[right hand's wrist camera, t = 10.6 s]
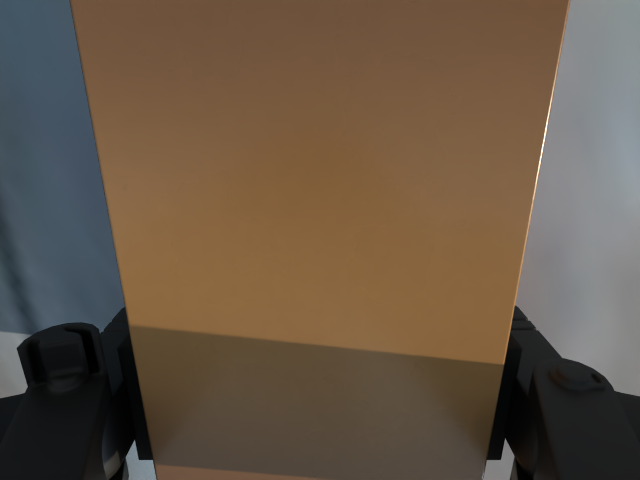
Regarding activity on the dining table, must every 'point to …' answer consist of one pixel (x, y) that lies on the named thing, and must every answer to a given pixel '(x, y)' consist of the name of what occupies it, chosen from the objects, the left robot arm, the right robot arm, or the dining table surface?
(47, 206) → the dining table surface
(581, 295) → the dining table surface
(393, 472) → the post
